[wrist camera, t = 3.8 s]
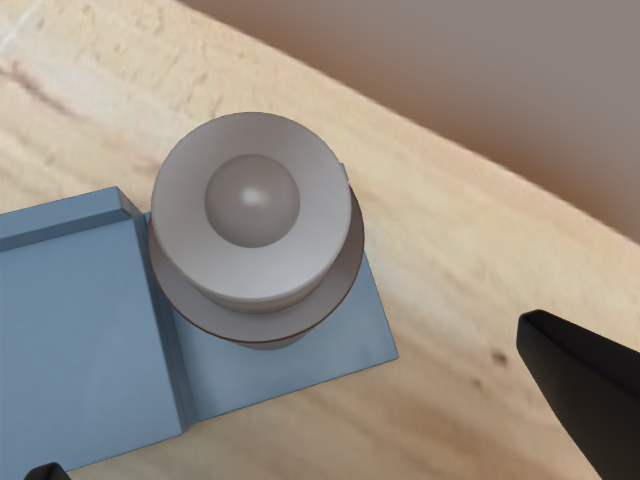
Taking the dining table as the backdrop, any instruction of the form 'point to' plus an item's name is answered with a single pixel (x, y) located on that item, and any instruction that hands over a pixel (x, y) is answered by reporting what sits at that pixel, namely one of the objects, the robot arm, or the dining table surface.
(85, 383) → the riser
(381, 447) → the dining table surface
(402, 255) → the dining table surface
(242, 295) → the pepper mill
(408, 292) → the dining table surface
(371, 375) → the dining table surface
